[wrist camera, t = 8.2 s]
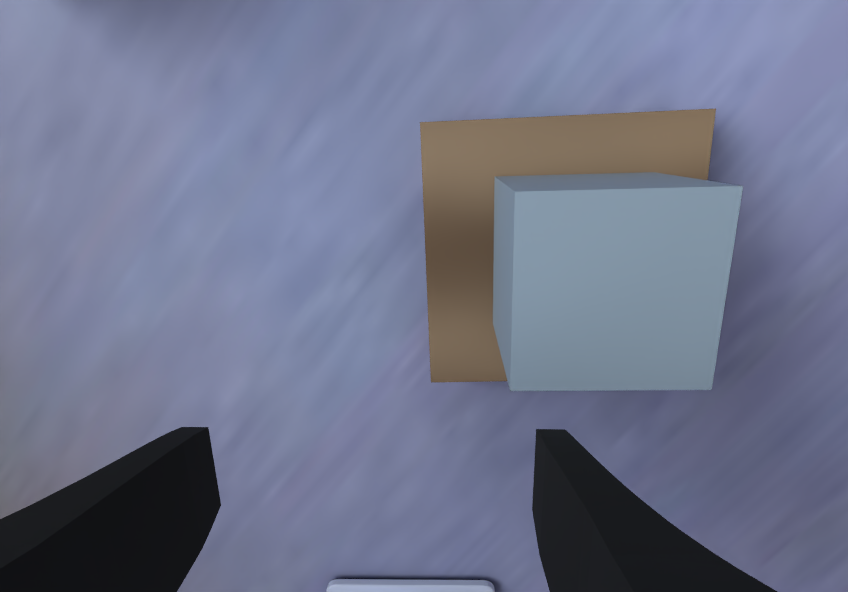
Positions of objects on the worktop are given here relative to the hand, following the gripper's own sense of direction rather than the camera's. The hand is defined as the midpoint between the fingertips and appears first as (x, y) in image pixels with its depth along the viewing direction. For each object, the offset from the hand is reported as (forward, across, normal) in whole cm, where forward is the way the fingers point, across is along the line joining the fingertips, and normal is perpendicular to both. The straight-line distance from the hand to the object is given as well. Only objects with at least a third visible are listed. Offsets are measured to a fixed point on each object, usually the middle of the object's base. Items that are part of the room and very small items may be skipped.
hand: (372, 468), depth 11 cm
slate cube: (+7, -6, -3) cm, 10 cm away
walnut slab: (+10, -5, -3) cm, 12 cm away
